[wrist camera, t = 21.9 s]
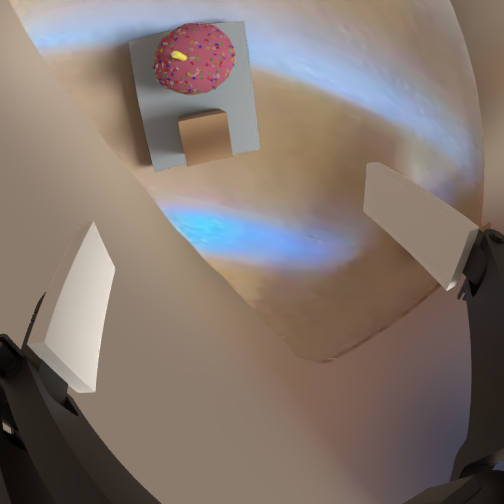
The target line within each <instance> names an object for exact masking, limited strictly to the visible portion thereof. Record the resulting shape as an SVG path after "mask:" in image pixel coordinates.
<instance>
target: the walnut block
mask: <svg viewBox="0 0 504 504" xmlns="http://www.w3.org/2000/svg"><path fill="white" fill-rule="evenodd" d="M178 124H179V129H180V134H181V140H182V145H183V149H184V154H185V159H186V164H187V166H191V165H196V164H200V163H205V162H209V161H214V160H219V159H224V158H229V157H233V153H232V146H231V139H230V132H229V125H228V118H227V112H225V111H223V110H221V109H213V110H208V111H203V112H197V113H193V114H188V115H183V116H179V119H178Z"/></svg>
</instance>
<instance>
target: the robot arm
mask: <svg viewBox="0 0 504 504" xmlns="http://www.w3.org/2000/svg"><path fill="white" fill-rule="evenodd" d="M363 212H364V213H366V214H367V215H368V216H369V217H370V218H372V219H373V220H374V221H375V222H376V223H377V224H378V225H380V226H381V227H382V228H383V229H384V230H385V231H386V232H387V233H389V234H390V235H391V236H392V237H393V238H394V239H395V240H396V241H397V242H398V243H399V244H401V245H402V246H403V247H404V248H405V249H406V250H407V251H408V252H409V253H410V254H411V255H412V256H413V257H414V258H415V259H416V260H417V261H418V262H419V263H420V264H421V265H422V266H423V267H424V268H425V269H426V270H427V271H428V272H429V273H430V274H431V275H432V276H433V277H434V278H435V279H436V280H437V281H438V282H439V283H440V284H441V285H442V286H443V287H444V289H445V290H446V291H447V290H449V289H450V288H452V287H454V286H456V285H457V284H458V282H459V279H460V277H461V275H462V273H463V274H464V275H465V276H466V279H465V281H464V283H463V286H462V288H461V290H460V292H459V294H458V298H457V299H460V297H461V295H462V294H463V293H465V295H464V297H463V300H465V301H466V302H467V309H468V317H469V326H470V338H471V360H472V384H471V387H472V388H471V405H470V418H469V427H468V434H467V438H466V440H465V442H464V443H463V445H462V446H461V448H460V449H459V451H458V453H457V455H456V458H455V461H454V466H453V470H452V474H451V478H450V482H448V483H446V484H443V485H439V486H435V487H431V488H427V489H426V490H424V491H423V492H421V493H420V494H418V495H417V496H415V497H413V498H412V499H410V500H408V501H407V502H405V503H404V504H504V471H500V470H492V469H493V468H494V466H495V465H496V464H497V463H499V462H500V461H503V460H504V235H503V234H501V233H500V232H498V231H496V230H493V229H486V230H485V231H484V233H483V232H482V231H481V230H480V229H479V227H478V226H477V225H476V224H474V223H473V222H472V221H470V220H469V219H468V218H466V217H465V216H464V215H462V214H461V213H460V212H458V211H457V210H455V209H454V208H453V207H451V206H450V205H448V204H447V203H445V202H444V201H442V200H441V199H439V198H438V197H436V196H435V195H433V194H432V193H430V192H429V191H427V190H426V189H424V188H422V187H421V186H419V185H418V184H416V183H414V182H413V181H411V180H409V179H408V178H406V177H404V176H402V175H401V174H399V173H397V172H396V171H394V170H392V169H390V168H388V167H387V166H385V165H383V164H381V163H379V162H375V163H367V170H366V185H365V197H364V207H363ZM114 272H115V267H114V265H113V263H112V261H111V259H110V257H109V255H108V252H107V250H106V248H105V246H104V244H103V241H102V239H101V237H100V235H99V232H98V230H97V228H96V225H95V223H94V221H91V222H88V223H85V224H82V225H80V226H79V228H78V229H77V231H76V233H75V235H74V236H73V238H72V240H71V242H70V244H69V246H68V248H67V249H66V251H65V253H64V255H63V257H62V259H61V261H60V263H59V265H58V267H57V269H56V272H55V274H54V276H53V278H52V280H51V282H50V285H49V287H48V289H47V291H46V292H45V293H44V295H43V296H42V297H41V299H40V300H39V302H38V304H37V306H36V309H35V311H34V314H33V316H32V319H31V323H30V324H29V327H28V330H27V333H26V336H25V339H24V342H23V345H22V348H21V350H20V349H19V348H18V346H17V345H16V344H15V343H14V342H13V341H12V340H11V339H10V338H9V337H8V335H6V334H0V504H161V503H160V502H159V501H158V500H157V499H156V498H155V497H153V495H151V494H150V493H149V492H148V491H147V490H146V489H145V488H144V487H143V486H142V485H141V484H140V483H139V482H138V481H137V480H136V479H135V478H134V477H133V476H132V475H131V474H130V473H129V472H128V470H127V469H126V468H125V467H124V466H123V465H122V464H121V463H120V462H119V460H118V459H117V458H116V457H115V456H114V455H113V454H112V452H111V451H110V450H109V449H108V447H107V446H106V445H105V444H104V442H103V441H102V440H101V439H100V437H99V436H98V435H97V433H96V432H95V431H94V429H93V428H92V427H91V425H90V424H89V422H88V421H87V420H86V418H85V417H84V415H83V414H82V412H81V411H80V409H79V408H78V406H77V405H76V403H75V401H74V400H73V398H72V397H71V396H70V395H69V394H68V393H67V388H68V385H69V386H70V387H72V388H73V389H74V390H75V391H76V392H78V393H86V392H95V388H96V376H97V367H98V359H99V351H100V344H101V337H102V331H103V325H104V319H105V314H106V309H107V304H108V299H109V294H110V290H111V285H112V280H113V276H114ZM2 422H3V423H4V424H6V425H8V426H9V427H10V428H11V434H10V433H8V432H6V431H5V430H3V425H2Z"/></svg>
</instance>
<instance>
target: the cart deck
mask: <svg viewBox="0 0 504 504" xmlns="http://www.w3.org/2000/svg"><path fill="white" fill-rule="evenodd" d="M210 25H214V26H216V27H218V28H219V29H220V30H222V31H223V32H224V33H225V34H226V35H227V36H228V38H229V39H230V41H231V43H232V44H233V46H234V49H235V64H234V67H233V69H232V71H231V73H230V75H229V77H228V78H227V79H226V80H225V81H224V82H223V83H222V84H221V85H220V86H218V87H217V88H216V89H215V90H212V91H210V92H207V93H202V94H198V95H185V94H181V93H177V92H174V91H173V90H171V89H166V88H164V87H163V86H162V85H161V84H160V83H159V82H158V81H157V78H156V76H155V71H154V69H153V66H154V55H155V51H156V49H157V46H158V45H159V43H160V41H161V40H162V39H163V38H164V36H165V35H167V34H169V33H170V32H172V31H174V30H172V31H167V32H163V33H158V34H154V35H150V36H147V37H143V38H139V39H136V40H133V41H129V42H128V43H129V50H130V57H131V63H132V69H133V75H134V81H135V86H136V92H137V97H138V102H139V107H140V112H141V117H142V121H143V126H144V130H145V135H146V139H147V143H148V147H149V151H150V156H151V160H152V164H153V167H154V171H155V172H157V171H161V170H165V169H169V168H173V167H177V166H181V165H185V164H186V159H185V154H184V149H183V145H182V140H181V134H180V129H179V124H178V119H179V116H183V115H188V114H193V113H197V112H203V111H208V110H213V109H221V110H223V111H225V112H227V118H228V125H229V132H230V139H231V146H232V153H233V154H237V153H243V152H249V151H254V150H260V145H259V136H258V127H257V119H256V110H255V102H254V93H253V85H252V77H251V69H250V61H249V53H248V46H247V38H246V31H245V24H244V21H234V22H223V23H214V24H210Z"/></svg>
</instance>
